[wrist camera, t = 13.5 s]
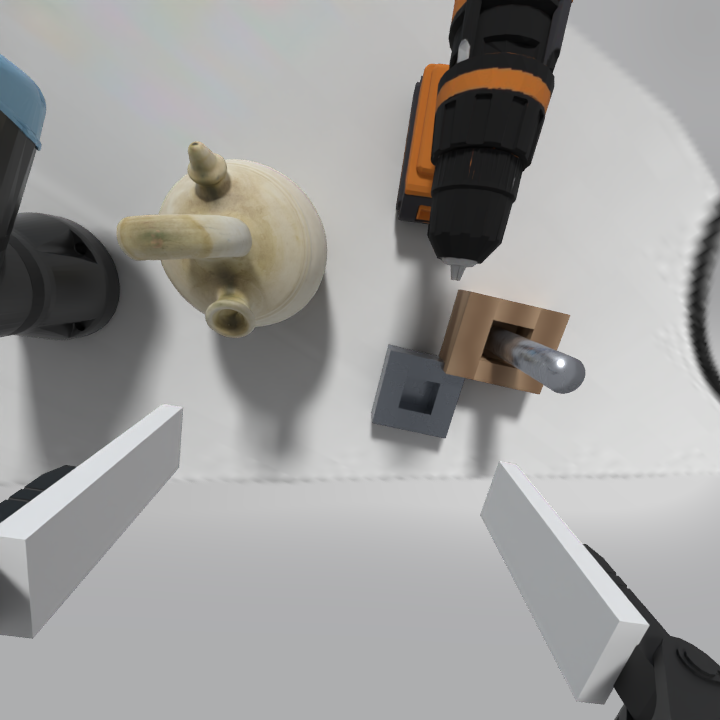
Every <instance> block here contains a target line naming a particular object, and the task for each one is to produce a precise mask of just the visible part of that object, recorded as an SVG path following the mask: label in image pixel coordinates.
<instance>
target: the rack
mask: <svg viewBox="0 0 720 720" xmlns="http://www.w3.org/2000/svg"><path fill="white" fill-rule="evenodd" d="M569 317H570V315H568V314H563V313H559V312H555V311H551V310H546V309H542V308H538V307H534V306H529V305H525V304H521V303H517V302H512V301H508V300H504V299H500V298H496V297H491V296H487V295H483V294H479V293H474V292H470V291H464V290H458V293H457V297H456V300H455V303H454V307H453V310H452V314H451V317H450V320H449V324H448V327H447V330H446V334H445V337H444V341H443V344H442V347H441V351H440V354H439V356H440V358H441V359H442V360H443V361H444V362H445V365H444V368H443V371H444V372H445V373H446V374H450V375H454V376H459V377H463V378H468V379H472V380H477V381H481V382H486V383H490V384H495V385H499V386H504V387H508V388H513V389H517V390H522V391H526V392H531V393H535V394H540V392H541V390H542V387H543V384H542V383H540V382H538V381H537V380H535V379H534V378H532V377H530V376H529V375H527V374H526V373H524V372H522V371H521V370H519V369H518V368H516V367H514V366H513V365H511V364H510V363H508V362H506V361H505V360H503V359H502V358H500V357H498V356H497V355H495V354H494V353H492V352H490V351H489V350H487V349H486V348H484V346H485V343H486V340H487V337H488V334H489V331H490V328H491V327H500V328H502V329H505V330H507V331H510V332H512V333H514V334H517V335H519V336H522V337H524V338H527V339H529V340H532V341H534V342H537V343H539V344H542V345H544V346H546V347H549V348H551V349H554V350H556V351H557V348H558V346H559V343H560V341H561V338H562V335H563V333H564V330H565V328H566V325H567V322H568V320H569Z"/></svg>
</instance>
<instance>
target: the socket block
mask: <svg viewBox="0 0 720 720" xmlns="http://www.w3.org/2000/svg"><path fill="white" fill-rule="evenodd" d="M444 365H445V362H444V361H443V360H442V359H441V358H440V356H437V355H433V354H429V353H424V352H420V351H415V350H411V349H406V348H402V347H397V346H393V345H388V349H387V353H386V357H385V361H384V365H383V369H382V373H381V376H380V380H379V384H378V388H377V392H376V396H375V400H374V404H373V408H372V412H371V413H372V423H375V424H380V425H385V426H389V427H394V428H399V429H403V430H408V431H413V432H418V433H422V434H427V435H432V436H436V437H441V438H446V435H447V432H448V429H449V426H450V423H451V420H452V417H453V414H454V410H455V407H456V404H457V401H458V398H459V395H460V392H461V389H462V386H463V383H464V379H465V378H463V377H459V376H454V375H450V374H446V373H445V372H444V371H443V368H444Z"/></svg>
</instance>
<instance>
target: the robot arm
mask: <svg viewBox="0 0 720 720" xmlns="http://www.w3.org/2000/svg"><path fill="white" fill-rule="evenodd" d="M45 114H46V102H45V99H44V96H43V94H42V92H41V91H40V89H39V87H38V86H37V85H36V84H35V82H34V81H33V80H32V79H31V78H30V77H29V76H28V75H26V74H25V73H24V72H23V71H22V70H20V69H19V68H18V67H17V66H15V65H14V64H13V63H12V62H10V61H9V60H8V59H6V58H5V57H4V56H2V55H1V54H0V337H4V336H10V335H18V336H26V337H35V338H43V339H51V340H66V339H72V338H77V337H81V336H86V335H89V334H92V333H94V332H96V331H98V330H99V329H101V328H102V327H103V326H104V325H106V323H107V322H108V321H109V320H110V319H111V317H112V316H113V314H114V312H115V310H116V307H117V304H118V299H119V280H118V275H117V271H116V268H115V265H114V263H113V261H112V259H111V257H110V255H109V253H108V252H107V250H106V249H105V247H104V246H103V245H102V243H101V242H100V241H99V240H98V239H97V238H96V237H95V236H94V235H93V234H92V233H90V232H89V231H88V230H87V229H85V228H84V227H82V226H81V225H79V224H77V223H75V222H73V221H71V220H68V219H65V218H62V217H58V216H53V215H47V214H42V213H18V210H19V207H20V203H21V200H22V197H23V193H24V190H25V187H26V183H27V180H28V177H29V173H30V170H31V167H32V163H33V160H34V157H35V153H36V150H38V151H40V149H41V142H40V141H39V140H40V135H41V131H42V127H43V123H44V118H45ZM17 213H18V214H17ZM182 417H183V407H179V406H173V405H168V404H162V405H161V406H159V407H158V408H157V409H155V410H154V411H153V412H151V413H150V414H149V415H147V416H146V417H144V418H143V419H142V420H140V421H139V422H138V423H136V424H135V425H134V426H132V427H131V428H129V429H128V430H127V431H125V432H124V433H123V434H121V435H120V436H119V437H117V438H116V439H114V440H113V441H112V442H110V443H109V444H108V445H106V446H105V447H104V448H102V449H101V450H99V451H98V452H97V453H95V454H94V455H93V456H91V457H90V458H89V459H87V460H86V461H84V462H83V463H82V464H80V465H79V466H78V467H74V466H68V465H65V466H62V467H60V468H57V469H55V470H52V471H50V472H47V473H45V474H43V475H41V476H40V477H38V478H37V479H35V480H34V481H32V482H31V483H29V484H28V485H26V486H25V488H24V489H21V490H19V491H18V492H16V493H15V494H13V495H12V496H10V497H9V499H8V500H4V501H3V502H1V503H0V635H7V636H16V637H25V638H34V636H35V635H36V634H37V633H38V632H39V631H40V630H41V628H42V627H43V626H44V625H45V624H46V622H47V621H48V620H49V619H50V618H51V617H52V615H53V614H54V613H55V612H56V611H57V610H58V608H59V607H60V606H61V605H62V604H63V602H64V601H65V600H66V599H67V598H68V597H69V596H70V594H71V593H72V592H73V591H74V590H75V589H76V587H77V586H78V585H79V584H80V582H81V581H82V580H83V579H84V578H85V577H86V576H87V575H88V573H89V572H90V571H91V570H92V569H93V568H94V566H95V565H96V564H97V563H98V561H100V559H101V558H102V557H103V556H104V555H105V554H106V552H107V551H108V550H109V549H110V548H111V546H112V545H113V544H114V543H115V542H116V541H117V539H118V538H119V537H120V536H121V535H122V534H123V532H124V531H125V530H126V529H127V528H128V526H129V525H130V524H131V523H132V522H133V521H134V519H135V518H136V517H137V516H138V515H139V513H141V511H142V510H143V509H144V508H145V507H146V505H147V504H148V503H149V502H150V501H151V500H152V499H153V497H154V496H155V495H156V494H157V493H158V492H159V490H160V489H161V488H162V487H163V486H164V485H165V483H166V482H167V481H168V480H169V479H170V478H171V476H172V475H173V474H174V473H175V472H176V470H177V469H178V468H179V461H180V446H181V432H182ZM480 516H481V517H482V519H483V521H484V523H485V525H486V527H487V529H488V531H489V533H490V535H491V537H492V539H493V540H494V543H495V545H496V547H497V548H498V550H499V552H500V554H501V556H502V558H503V560H504V562H505V564H506V566H507V568H508V570H509V572H510V574H511V576H512V577H513V580H514V581H515V583H516V585H517V587H518V589H519V591H520V593H521V595H522V597H523V599H524V601H525V603H526V605H527V607H528V609H529V611H530V613H531V614H532V616H533V618H534V620H535V622H536V624H537V626H538V628H539V630H540V632H541V634H542V636H543V638H544V640H545V641H546V644H547V646H548V647H549V649H550V651H551V653H552V655H553V657H554V659H555V661H556V663H557V665H558V667H559V669H560V671H561V673H562V675H563V676H564V679H565V680H566V682H567V684H568V686H569V688H570V690H571V692H572V694H573V696H574V698H575V700H576V701H579V702H586V703H595V704H605V702H606V700H607V699H608V697H609V695H610V693H611V692H612V690H613V688H615V690H616V691H617V693H618V695H619V696H620V698H621V699H622V701H623V703H624V705H623V707H622V708H621V710H620V712H619V713H618V715H617V717H616V718H615V720H720V666H719V665H718V664H717V663H716V662H715V661H714V660H713V659H711V658H710V657H709V656H708V655H707V654H706V653H704V652H703V651H701V650H700V649H698V648H697V647H695V646H694V645H692V644H690V643H688V642H686V641H684V640H682V639H680V638H676V637H672V636H670V635H669V634H668V633H667V632H666V631H665V629H663V627H662V626H661V625H660V624H659V622H658V621H657V620H656V619H655V618H654V617H653V615H652V614H651V613H650V612H649V611H648V610H647V608H646V607H645V606H644V605H643V604H642V603H641V602H640V600H639V599H638V598H637V597H636V596H635V595H634V593H633V592H632V591H631V590H630V589H628V588H627V585H626V584H625V583H624V582H623V581H622V579H621V578H620V577H619V576H616V572H615V571H614V570H613V569H612V568H611V567H610V566H609V564H608V563H607V562H606V561H605V560H604V558H603V557H601V556H600V555H599V554H598V553H596V552H595V551H594V550H593V549H591V548H590V547H589V546H588V545H586V544H582V543H581V542H580V541H579V539H578V538H577V537H576V536H575V534H573V532H572V531H571V530H570V528H569V527H568V526H567V525H566V524H565V522H564V521H563V520H562V519H561V518H560V516H559V515H558V514H557V513H556V511H555V510H554V509H553V508H552V507H551V505H550V504H549V503H548V502H547V501H546V499H544V497H543V496H542V495H541V493H540V492H539V491H538V490H537V489H536V487H535V486H534V485H533V484H532V483H531V481H530V480H529V479H528V478H527V476H526V475H525V474H524V473H523V472H522V470H521V469H520V468H519V467H518V466H517V464H512V463H507V462H501V461H499V463H498V466H497V469H496V472H495V475H494V477H493V480H492V483H491V486H490V489H489V492H488V494H487V497H486V500H485V503H484V506H483V509H482V511H481V514H480Z"/></svg>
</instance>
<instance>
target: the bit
mask: <svg viewBox="0 0 720 720" xmlns="http://www.w3.org/2000/svg"><path fill="white" fill-rule="evenodd" d="M484 348H486V349H487V350H489V351H490V352H492V353H494V354H495V355H497V356H498V357H500V358H502V359H503V360H505V361H506V362H508V363H510V364H511V365H513V366H514V367H516V368H518V369H519V370H521V371H522V372H524V373H526V374H527V375H529V376H530V377H532V378H534V379H535V380H537V381H538V382H540V383H542V384H543V385H545V386H546V387H548V388H550V389H551V390H553V391H554V392H557V393H561V394H564V393H570V392H572V391H574V390H576V389H577V388H578V387H579V386H580V385H581V384H582V382H583V380H584V378H585V368H584V365H583V364H582V362H581V361H579V360H578V359H576V358H573V357H571V356H569V355H566V354H564V353H561V352H559V351H556V350H554V349H551V348H549V347H546V346H544V345H542V344H539V343H537V342H534V341H532V340H529V339H527V338H524V337H522V336H519V335H517V334H514V333H512V332H510V331H507V330H505V329H502V328H500V327H491V328H490V331H489V334H488V337H487V340H486V343H485V346H484Z"/></svg>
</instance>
